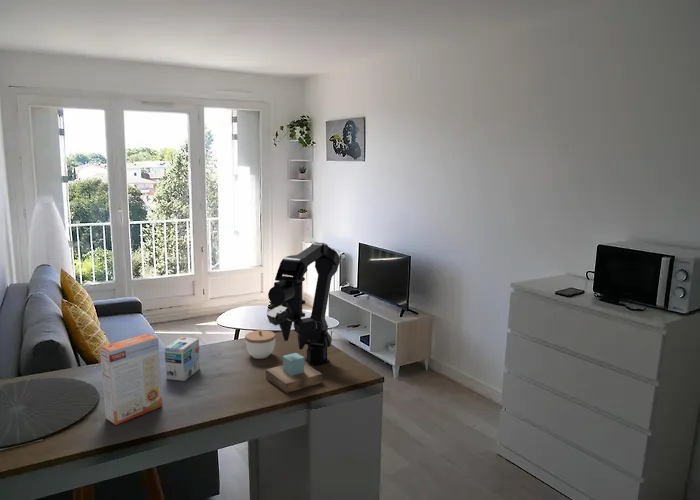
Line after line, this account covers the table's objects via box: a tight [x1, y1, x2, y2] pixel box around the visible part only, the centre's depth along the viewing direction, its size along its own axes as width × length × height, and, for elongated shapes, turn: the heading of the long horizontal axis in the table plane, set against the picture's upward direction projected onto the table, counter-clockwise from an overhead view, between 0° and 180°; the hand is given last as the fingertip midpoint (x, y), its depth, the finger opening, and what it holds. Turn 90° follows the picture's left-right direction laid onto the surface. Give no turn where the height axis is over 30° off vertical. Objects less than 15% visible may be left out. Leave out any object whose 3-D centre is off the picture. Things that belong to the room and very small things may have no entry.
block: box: [282, 352, 305, 376], centre depth 164 cm, size 5×5×5 cm
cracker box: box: [99, 333, 163, 426], centre depth 141 cm, size 14×6×21 cm, turn 140°
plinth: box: [265, 362, 323, 394], centre depth 165 cm, size 13×13×3 cm
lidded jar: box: [244, 329, 276, 359], centre depth 185 cm, size 11×11×9 cm
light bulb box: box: [164, 336, 201, 382], centre depth 168 cm, size 11×7×11 cm, turn 168°
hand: (293, 344), depth 163 cm, fingers open, 9 cm apart
